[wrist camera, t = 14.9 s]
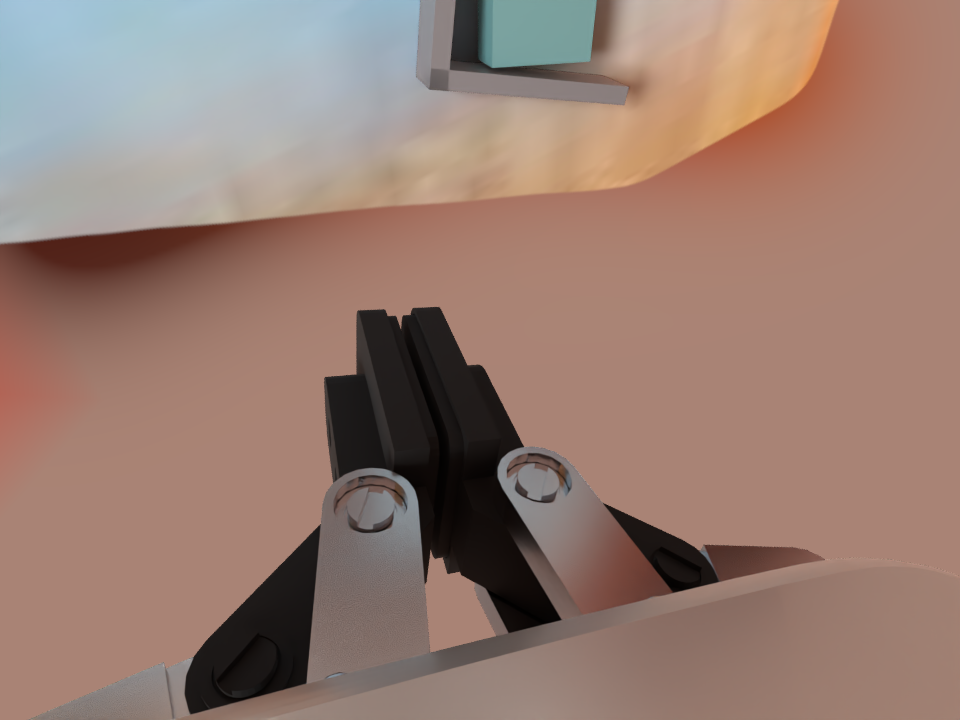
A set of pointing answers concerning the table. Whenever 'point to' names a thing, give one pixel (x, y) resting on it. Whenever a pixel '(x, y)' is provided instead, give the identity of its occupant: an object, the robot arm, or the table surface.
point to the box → (506, 81)
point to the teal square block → (535, 32)
